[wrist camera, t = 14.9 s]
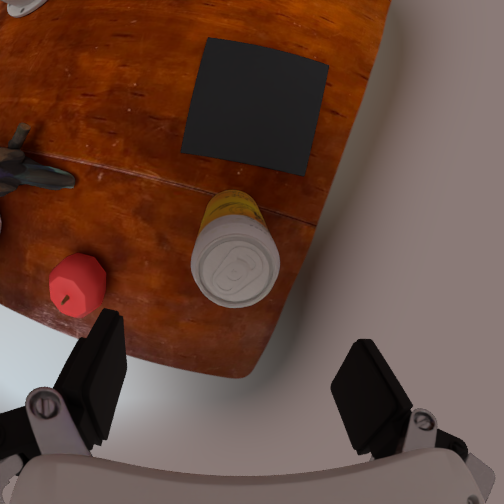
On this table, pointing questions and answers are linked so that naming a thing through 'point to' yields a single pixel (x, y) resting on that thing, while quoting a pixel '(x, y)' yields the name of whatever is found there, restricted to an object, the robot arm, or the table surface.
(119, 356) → the robot arm
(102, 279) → the apple
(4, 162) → the bird figurine
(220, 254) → the beer can
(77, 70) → the table surface
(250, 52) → the mat
